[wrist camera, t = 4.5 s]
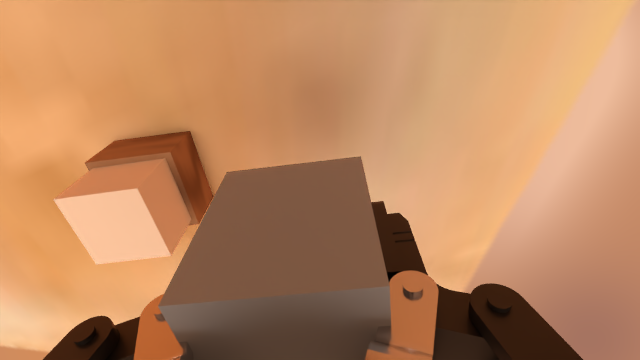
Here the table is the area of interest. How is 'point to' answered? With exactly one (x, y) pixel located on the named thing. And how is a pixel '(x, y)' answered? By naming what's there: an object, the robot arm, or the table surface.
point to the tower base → (178, 158)
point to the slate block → (283, 268)
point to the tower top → (126, 211)
